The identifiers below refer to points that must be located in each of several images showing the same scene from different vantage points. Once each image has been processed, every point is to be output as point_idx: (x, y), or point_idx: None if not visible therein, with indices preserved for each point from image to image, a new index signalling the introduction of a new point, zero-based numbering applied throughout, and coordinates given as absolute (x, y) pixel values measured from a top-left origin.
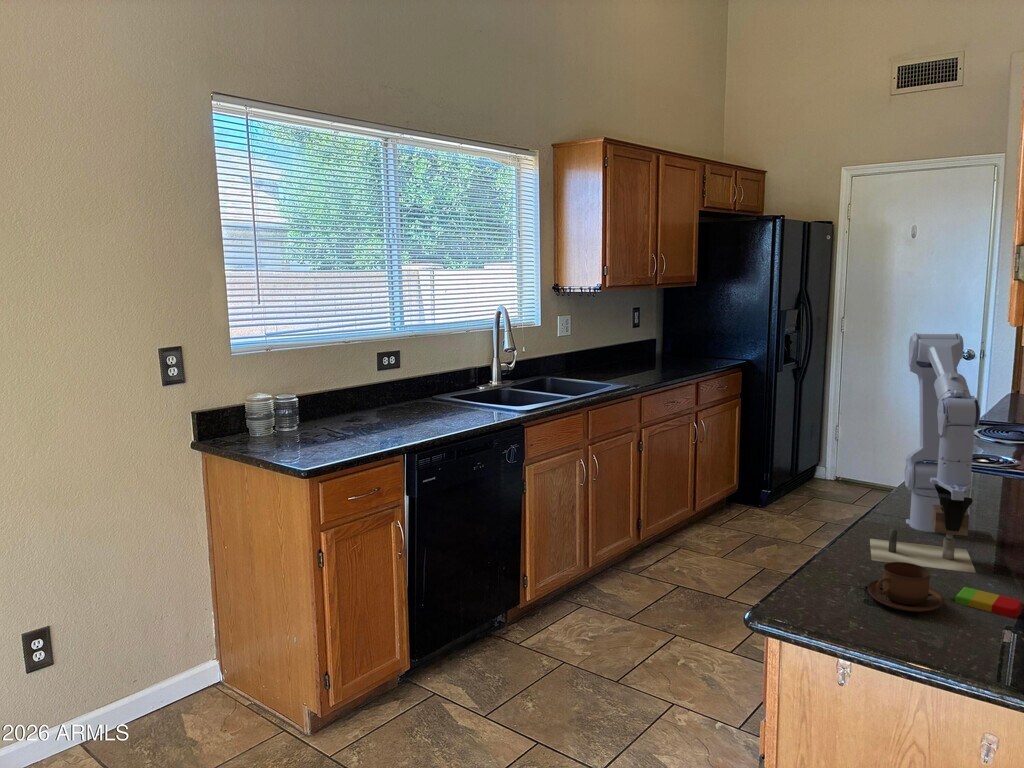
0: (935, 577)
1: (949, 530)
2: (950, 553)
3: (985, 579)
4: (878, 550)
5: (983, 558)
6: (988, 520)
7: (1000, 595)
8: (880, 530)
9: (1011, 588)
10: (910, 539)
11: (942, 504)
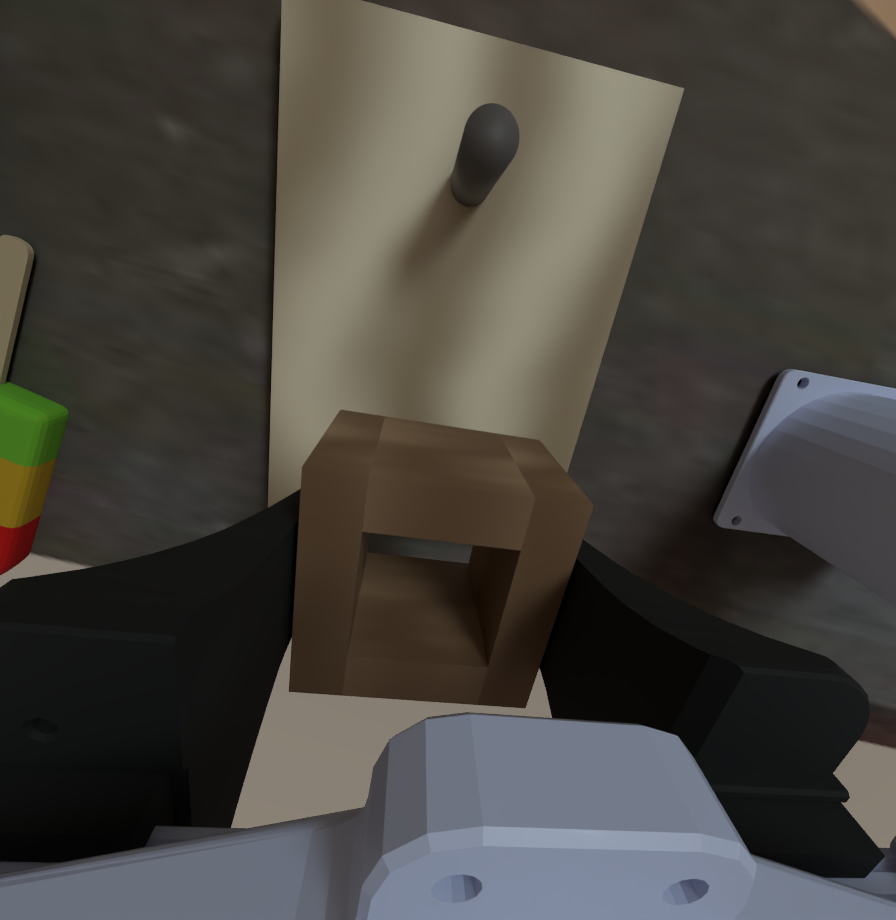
0: (220, 341)
1: None
2: None
3: None
4: (474, 91)
5: None
6: (885, 681)
7: (3, 529)
8: (860, 233)
9: None
10: (715, 358)
11: (94, 569)
